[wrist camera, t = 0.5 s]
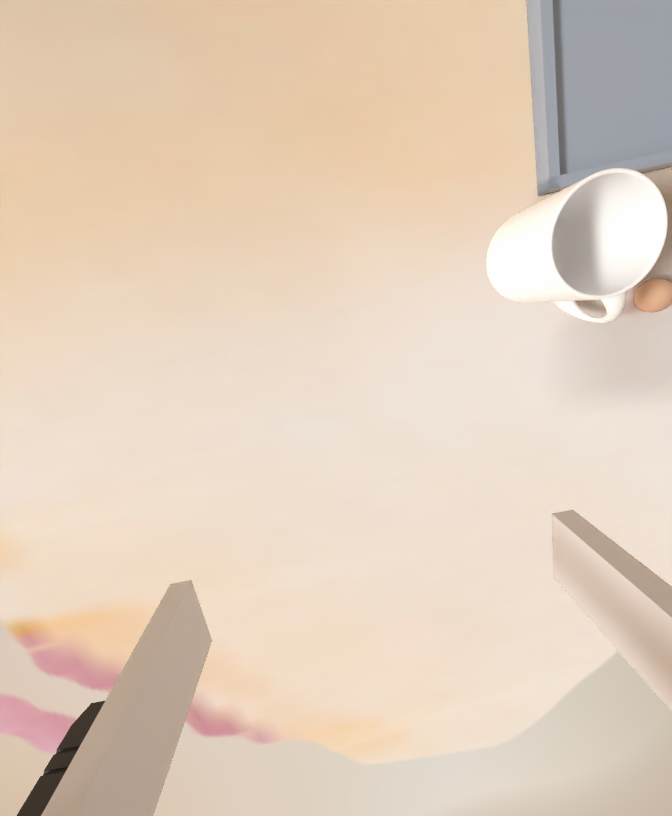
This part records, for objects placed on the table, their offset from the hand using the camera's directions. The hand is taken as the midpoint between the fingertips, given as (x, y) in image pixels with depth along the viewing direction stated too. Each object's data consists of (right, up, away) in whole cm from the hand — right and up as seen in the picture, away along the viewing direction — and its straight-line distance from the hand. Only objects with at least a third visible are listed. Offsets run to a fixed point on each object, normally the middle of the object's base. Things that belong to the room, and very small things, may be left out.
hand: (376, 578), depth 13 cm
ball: (+30, +18, +24) cm, 42 cm away
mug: (+18, +20, +23) cm, 36 cm away
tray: (+23, +36, +19) cm, 47 cm away
